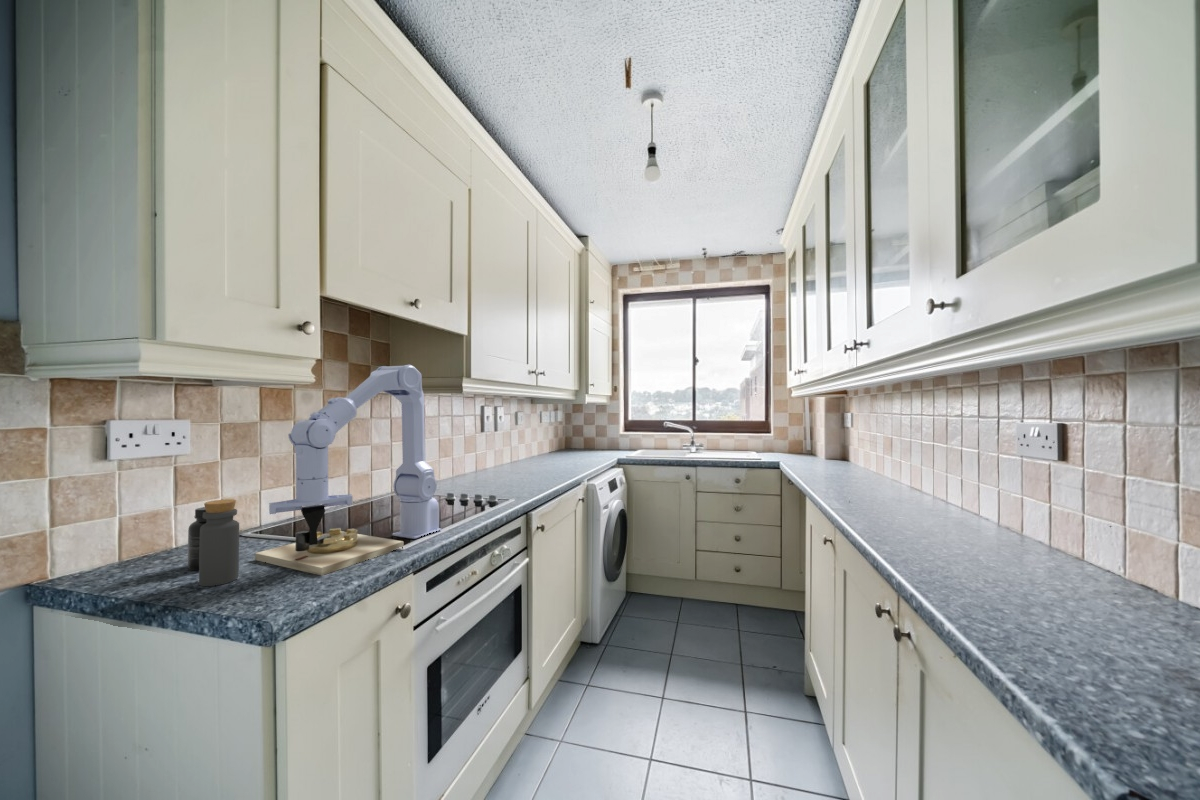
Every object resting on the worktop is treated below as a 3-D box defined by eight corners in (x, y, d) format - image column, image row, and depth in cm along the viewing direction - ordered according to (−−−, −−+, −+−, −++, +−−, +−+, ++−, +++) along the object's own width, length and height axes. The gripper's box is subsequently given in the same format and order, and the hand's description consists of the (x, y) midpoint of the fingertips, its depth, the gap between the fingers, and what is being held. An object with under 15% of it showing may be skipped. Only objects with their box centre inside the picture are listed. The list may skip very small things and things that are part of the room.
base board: (340, 536, 119) (340, 530, 119) (403, 547, 109) (403, 540, 110) (254, 560, 101) (255, 552, 101) (321, 575, 91) (321, 566, 91)
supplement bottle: (235, 563, 98) (236, 506, 99) (194, 573, 93) (195, 512, 93) (222, 558, 102) (223, 503, 102) (182, 566, 96) (183, 508, 97)
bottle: (205, 578, 90) (206, 500, 90) (242, 573, 93) (243, 497, 93) (193, 588, 85) (195, 505, 85) (233, 583, 87) (234, 503, 88)
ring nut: (366, 541, 109) (367, 517, 110) (320, 562, 94) (320, 534, 94) (327, 539, 111) (327, 516, 111) (275, 560, 96) (275, 533, 96)
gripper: (348, 472, 104) (349, 533, 104) (269, 478, 95) (269, 545, 95) (354, 476, 98) (354, 540, 98) (269, 483, 90) (269, 554, 90)
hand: (312, 543), depth 96 cm, fingers closed, pressing on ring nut
